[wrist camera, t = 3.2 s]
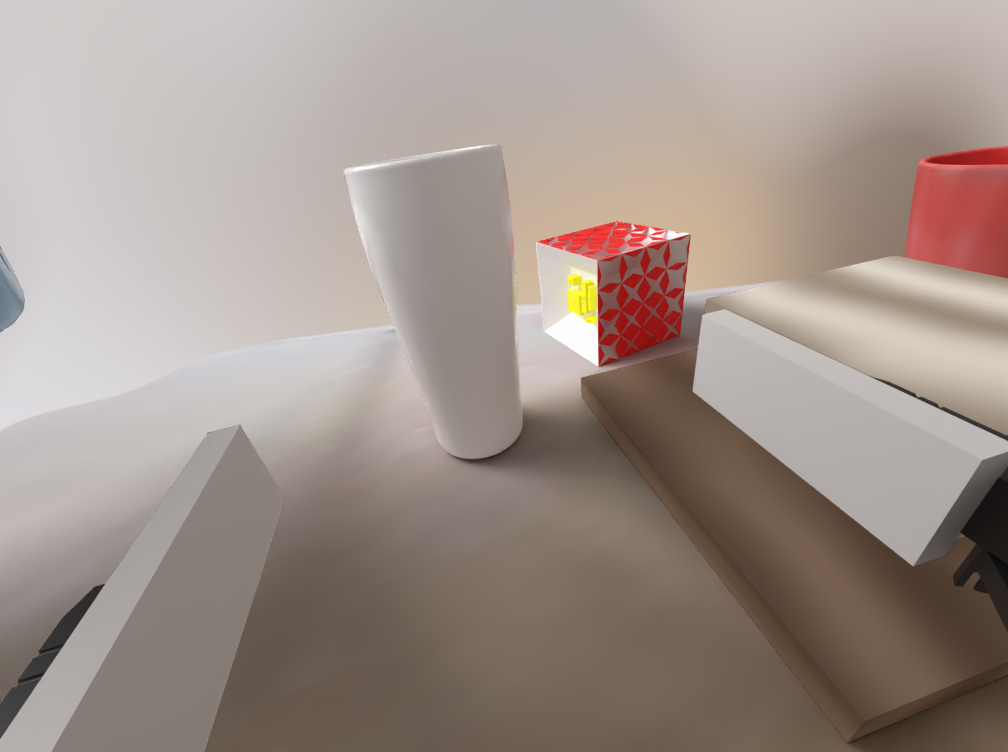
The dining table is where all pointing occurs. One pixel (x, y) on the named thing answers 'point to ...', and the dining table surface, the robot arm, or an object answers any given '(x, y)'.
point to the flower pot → (961, 211)
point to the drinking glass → (448, 286)
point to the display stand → (814, 518)
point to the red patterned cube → (613, 288)
